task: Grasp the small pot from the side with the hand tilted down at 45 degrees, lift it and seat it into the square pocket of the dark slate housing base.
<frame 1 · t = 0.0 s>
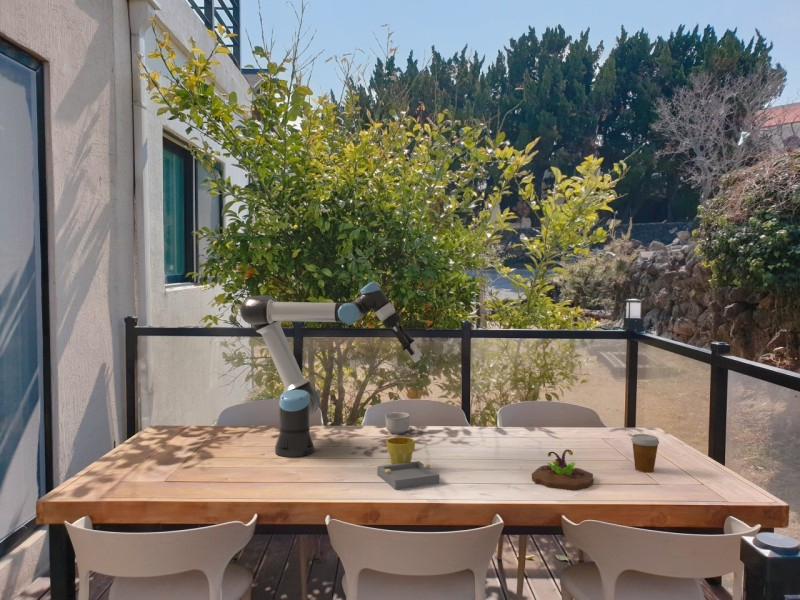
hand: (418, 358, 248), 36 cm above the table, tool tilted 35°, fingers open, 13 cm apart
disposable coffee cup: (644, 470, 222), on the table
plant pot: (400, 467, 222), on the table
plant: (563, 481, 210), on the table
teacup: (397, 432, 273), on the table
housing base: (407, 478, 209), on the table
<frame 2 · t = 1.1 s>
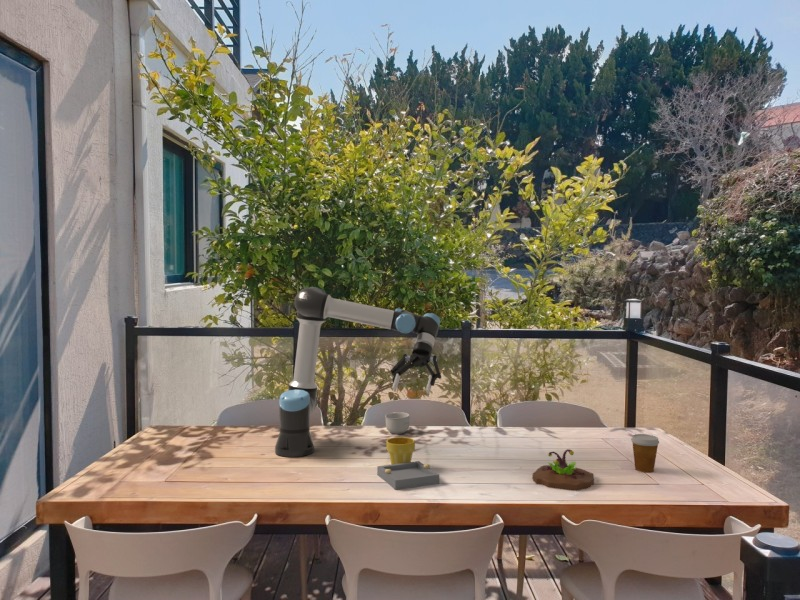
hand: (410, 390, 231), 26 cm above the table, tool tilted 45°, fingers open, 13 cm apart
nothing on the table moved.
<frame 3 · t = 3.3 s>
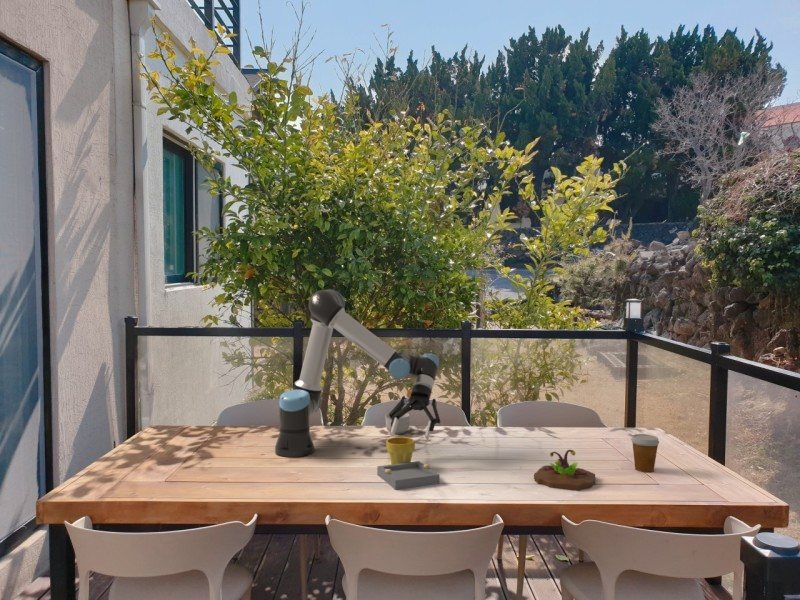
hand: (409, 436, 227), 10 cm above the table, tool tilted 45°, fingers open, 13 cm apart
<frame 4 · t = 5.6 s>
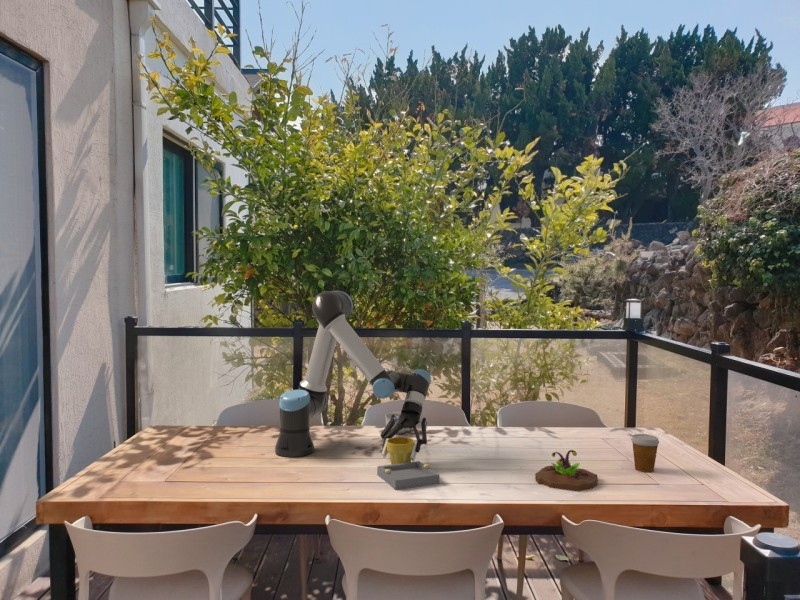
hand: (397, 457, 219), 4 cm above the table, tool tilted 45°, fingers closed on plant pot, 10 cm apart
plant pot: (400, 467, 222), on the table, touching gripper
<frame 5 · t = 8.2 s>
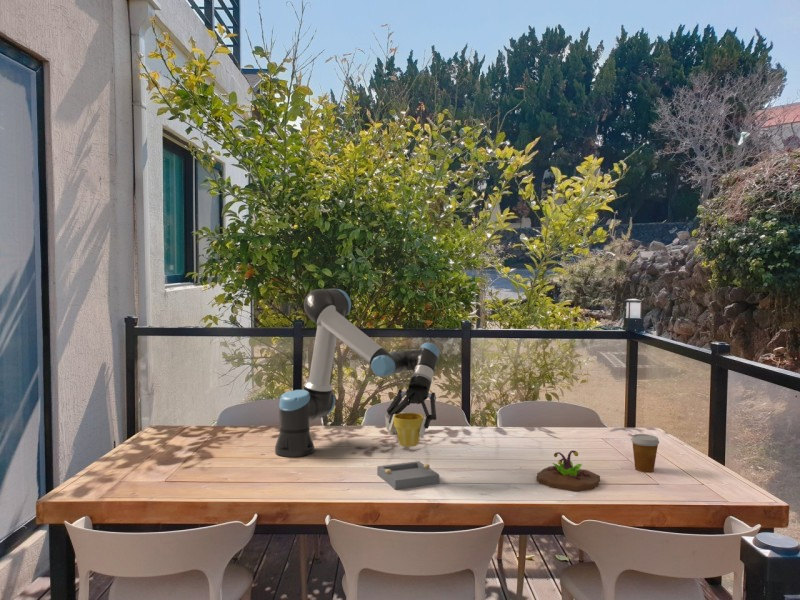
hand: (405, 434, 206), 16 cm above the table, tool tilted 45°, fingers closed on plant pot, 10 cm apart
plant pot: (408, 444, 209), point 12 cm above the table, touching gripper
when the fingers open (7 cm above the table, at t = 10.9 s): plant pot drops 1 cm, resting on housing base.
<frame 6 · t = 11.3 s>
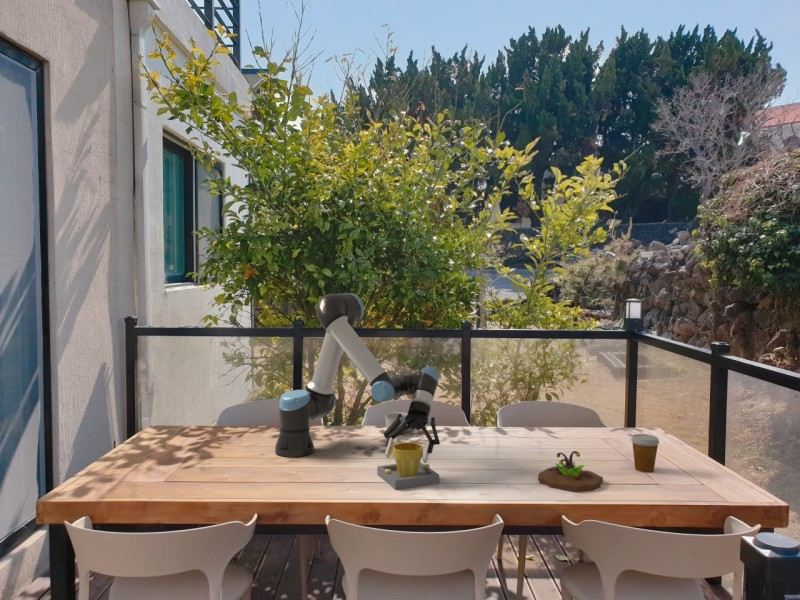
hand: (405, 458, 207), 8 cm above the table, tool tilted 45°, fingers open, 13 cm apart
plant pot: (407, 475, 209), point 1 cm above the table, touching housing base
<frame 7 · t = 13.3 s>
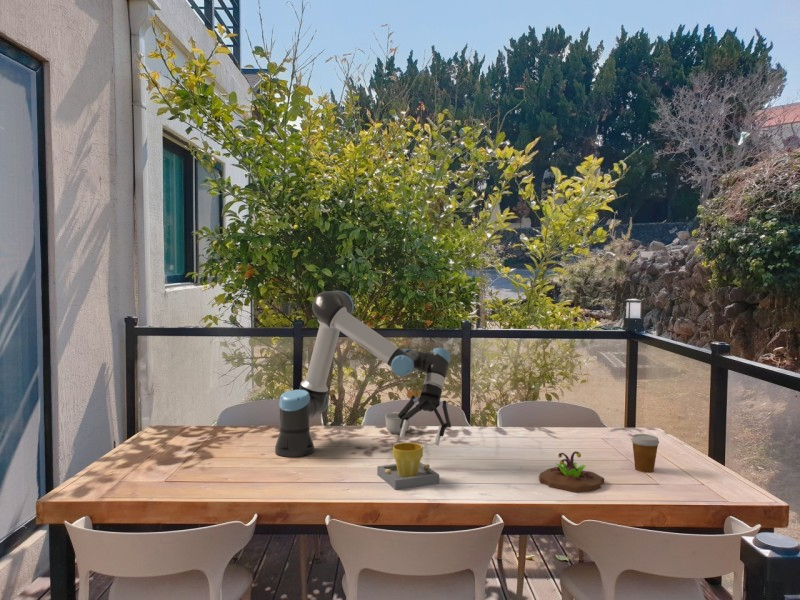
hand: (418, 441, 221), 10 cm above the table, tool tilted 35°, fingers open, 13 cm apart
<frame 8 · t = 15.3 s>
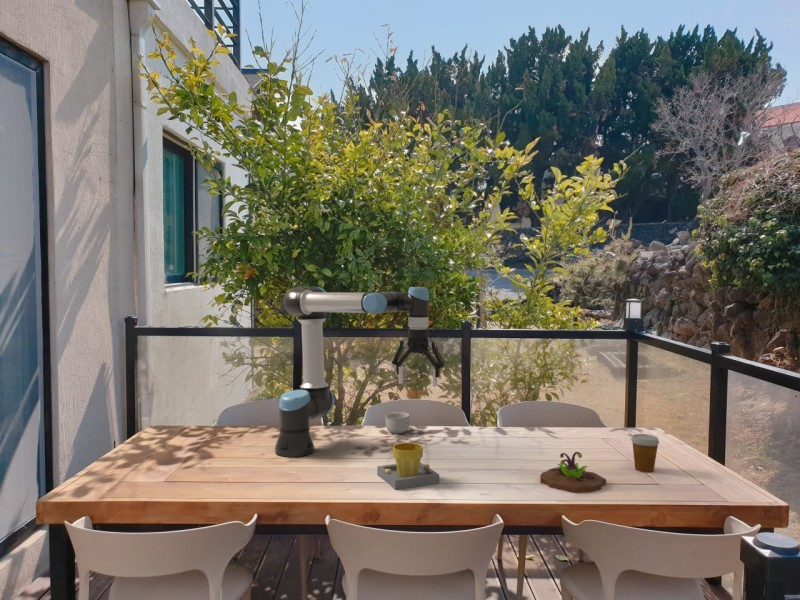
hand: (417, 384, 229), 29 cm above the table, tool pointing down, fingers open, 13 cm apart
at the end: plant pot 0.1 cm off-centre on the housing base, point 1.3 cm above the housing base's base; plant pot tilted 0°; the gripper is holding nothing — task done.
